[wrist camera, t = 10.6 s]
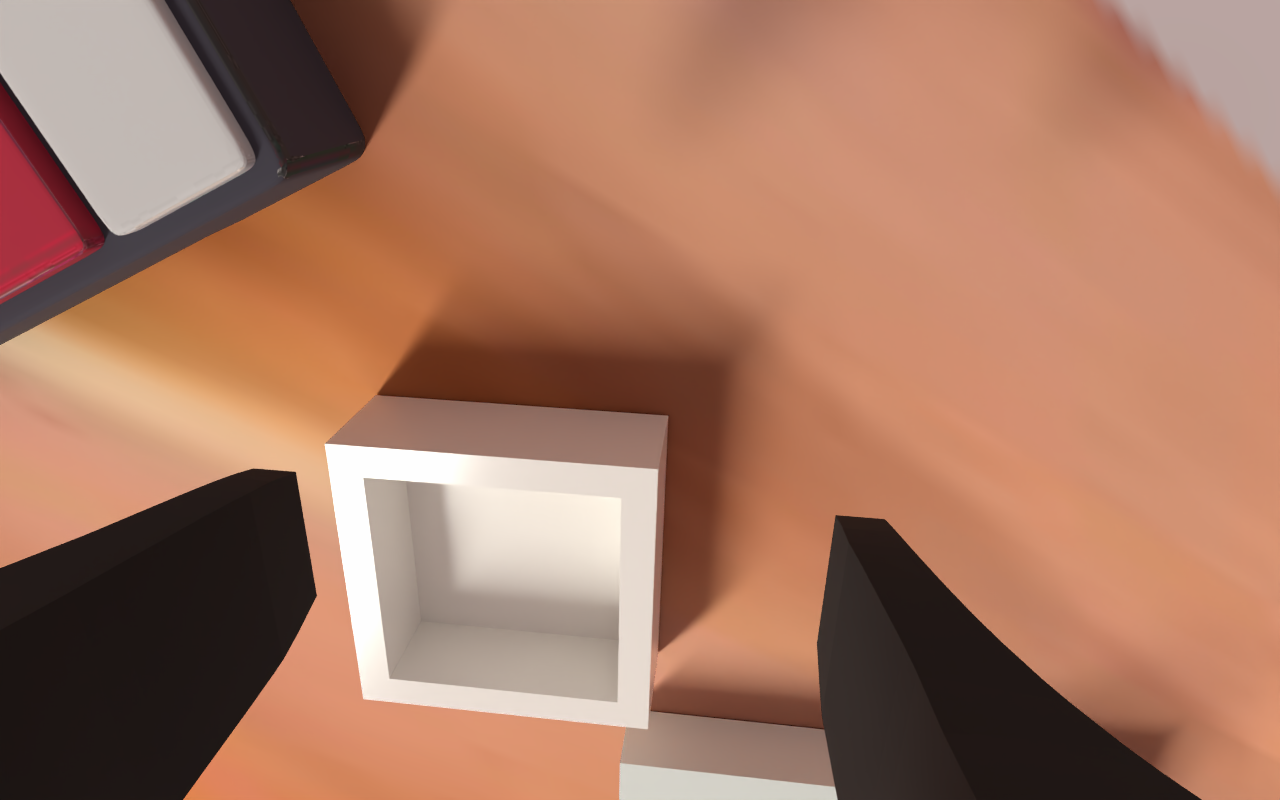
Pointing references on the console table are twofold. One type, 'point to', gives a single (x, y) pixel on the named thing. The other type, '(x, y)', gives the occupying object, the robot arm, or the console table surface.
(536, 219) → the console table surface
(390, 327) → the console table surface
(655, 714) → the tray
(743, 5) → the console table surface
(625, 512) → the white square open box
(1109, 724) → the console table surface
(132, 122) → the calculator
